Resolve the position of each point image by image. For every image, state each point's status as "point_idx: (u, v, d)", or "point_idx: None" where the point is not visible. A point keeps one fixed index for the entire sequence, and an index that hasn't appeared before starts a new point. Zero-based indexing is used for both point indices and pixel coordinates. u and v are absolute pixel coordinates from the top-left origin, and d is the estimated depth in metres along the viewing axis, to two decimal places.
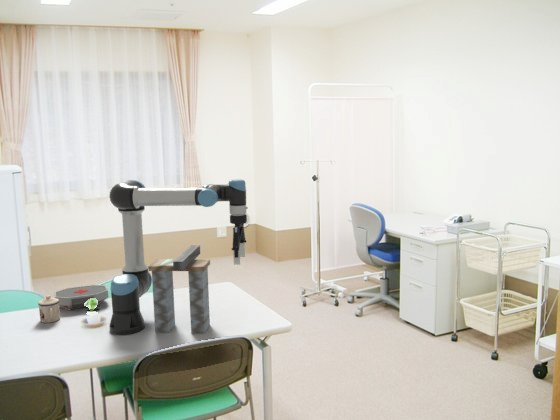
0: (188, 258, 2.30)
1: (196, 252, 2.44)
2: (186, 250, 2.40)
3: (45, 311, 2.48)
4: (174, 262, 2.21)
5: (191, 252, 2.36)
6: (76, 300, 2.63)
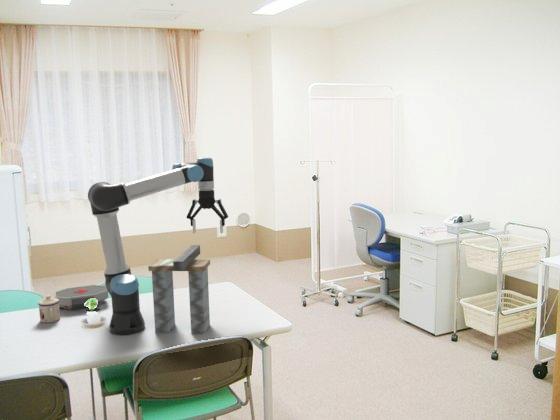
0: (188, 258, 2.30)
1: (196, 252, 2.44)
2: (186, 250, 2.40)
3: (45, 311, 2.48)
4: (174, 262, 2.21)
5: (191, 252, 2.36)
6: (76, 300, 2.63)
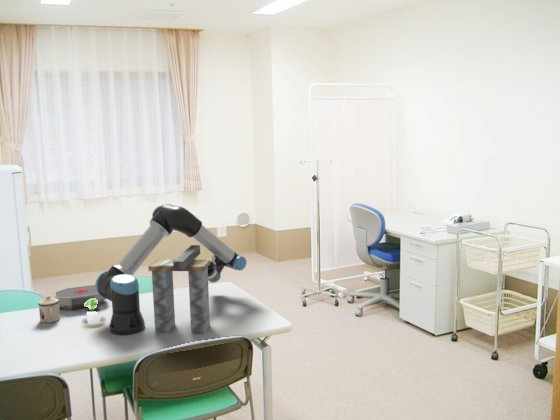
0: (188, 258, 2.30)
1: (196, 252, 2.44)
2: (186, 250, 2.40)
3: (45, 311, 2.48)
4: (174, 262, 2.21)
5: (191, 252, 2.36)
6: (76, 300, 2.63)
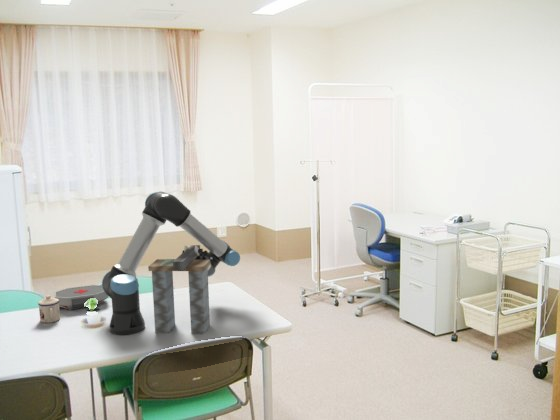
0: (188, 258, 2.30)
1: None
2: (186, 250, 2.40)
3: (45, 311, 2.48)
4: (174, 262, 2.21)
5: (191, 252, 2.36)
6: (76, 300, 2.63)
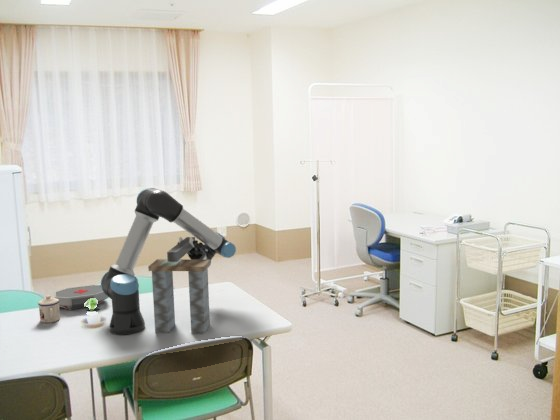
0: (182, 249, 2.29)
1: None
2: (181, 241, 2.40)
3: (45, 311, 2.48)
4: (168, 253, 2.20)
5: (186, 243, 2.36)
6: (76, 300, 2.63)
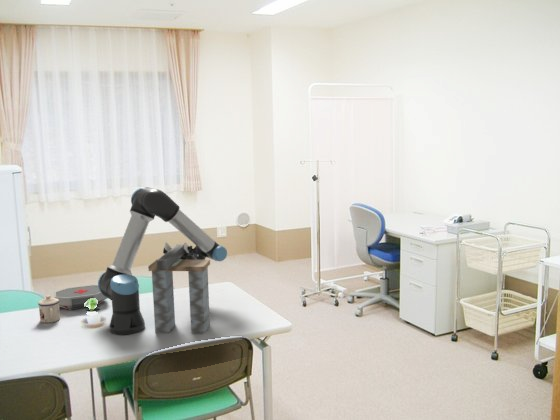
0: (172, 257, 2.30)
1: (181, 251, 2.44)
2: (171, 249, 2.41)
3: (45, 311, 2.48)
4: (157, 261, 2.22)
5: (175, 251, 2.37)
6: (76, 300, 2.63)
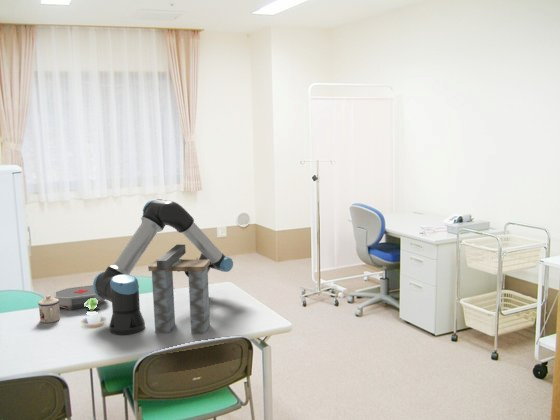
0: (172, 257, 2.30)
1: (181, 251, 2.44)
2: (171, 249, 2.41)
3: (45, 311, 2.48)
4: (157, 261, 2.22)
5: (175, 251, 2.37)
6: (76, 300, 2.63)
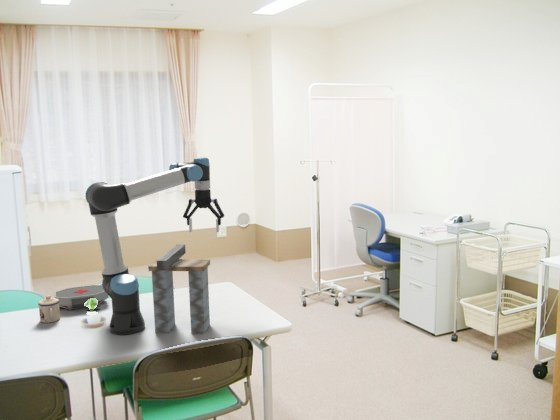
0: (172, 257, 2.30)
1: (181, 251, 2.44)
2: (171, 249, 2.41)
3: (45, 311, 2.48)
4: (157, 261, 2.22)
5: (175, 251, 2.37)
6: (76, 300, 2.63)
